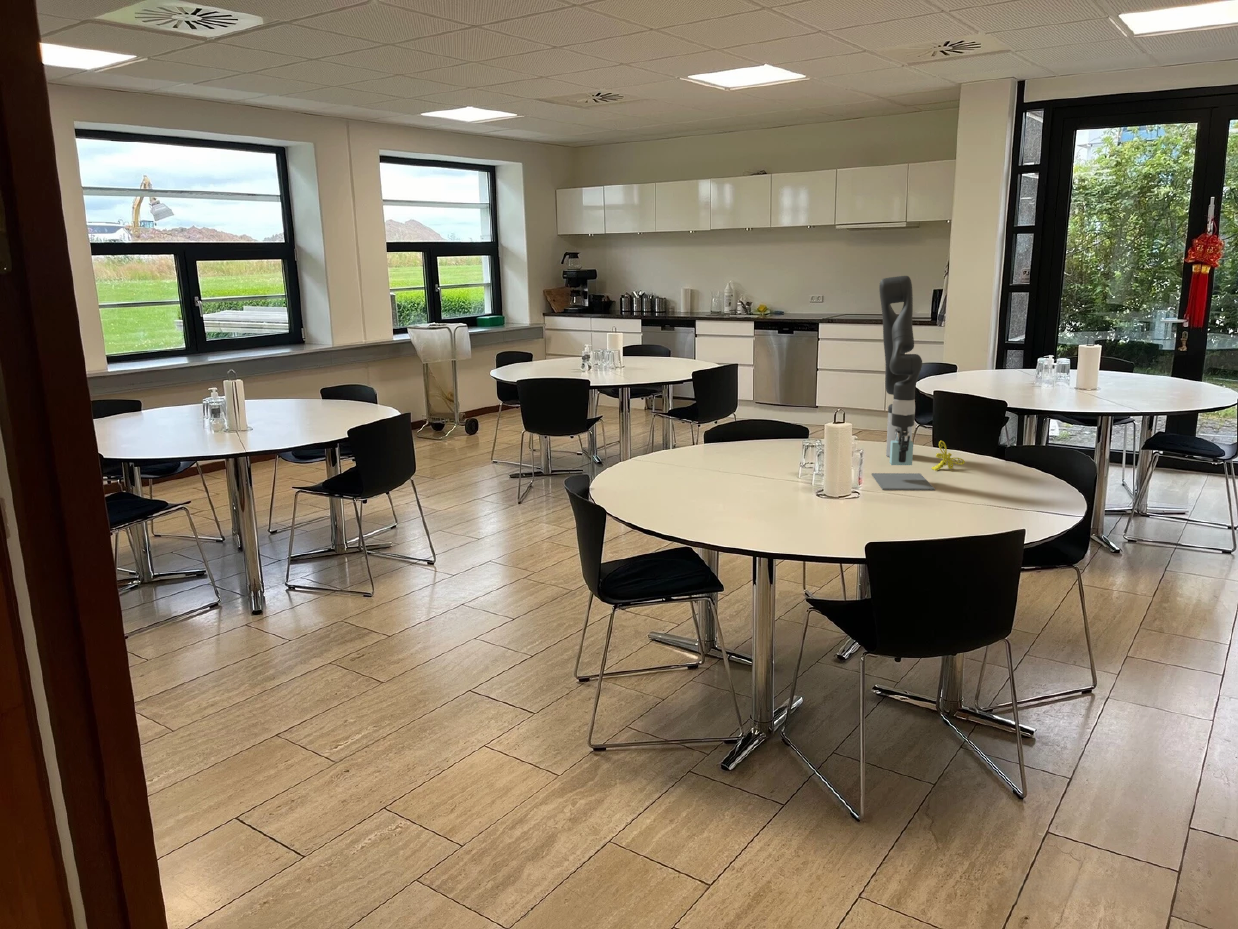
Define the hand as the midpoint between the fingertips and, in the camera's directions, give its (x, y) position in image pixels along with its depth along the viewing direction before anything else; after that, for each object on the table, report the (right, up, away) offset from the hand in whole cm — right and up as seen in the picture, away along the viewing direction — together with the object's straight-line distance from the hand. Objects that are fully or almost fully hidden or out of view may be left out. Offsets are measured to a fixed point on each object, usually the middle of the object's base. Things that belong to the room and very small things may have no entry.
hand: (900, 460), depth 316 cm
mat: (0, -8, -1) cm, 8 cm away
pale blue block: (0, -1, 0) cm, 1 cm away
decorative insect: (+23, -3, +16) cm, 28 cm away
